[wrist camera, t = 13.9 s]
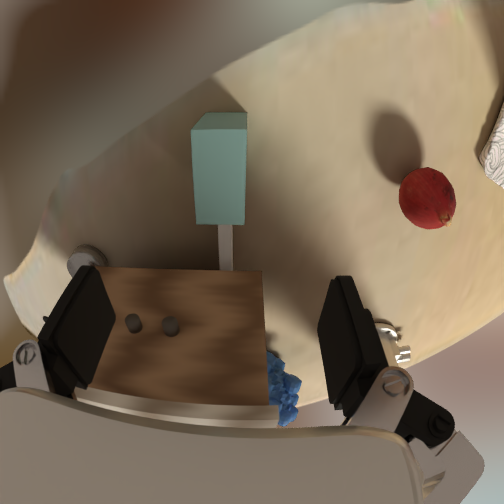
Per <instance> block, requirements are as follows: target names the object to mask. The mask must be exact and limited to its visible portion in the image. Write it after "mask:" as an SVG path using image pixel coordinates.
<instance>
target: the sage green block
mask: <svg viewBox="0 0 504 504" xmlns="http://www.w3.org/2000/svg"><path fill="white" fill-rule="evenodd" d="M191 148H192V168H193V184H194V199H195V212H196V224H212V225H218V243H219V265H220V270H222V271H233V225H244V222H245V184H246V149H247V112H209V113H205V114H204V115H203V116H202V118H201V119H200V120H199V121H198V122H197V123H196V124H195V126H194V127H193V128H192V129H191Z"/></svg>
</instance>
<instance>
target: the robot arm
mask: <svg viewBox="0 0 504 504" xmlns="http://www.w3.org/2000/svg"><path fill="white" fill-rule="evenodd" d="M115 320H116V314H115V311H114V309H113V307H112V304H111V302H110V299H109V297H108V294H107V291H106V289H105V286H104V283H103V281H102V278H101V275H100V272H99V271H98V270H96V268H95V267H94V266H89V265H82V266H80V268H79V269H78V271H77V272H76V274H75V275H74V277H73V278H72V280H71V281H70V283H69V284H68V286H67V287H66V289H65V290H64V292H63V294H62V295H61V297H60V299H59V300H58V302H57V303H56V305H55V307H54V308H53V310H52V312H51V314H50V315H49V317H48V319H47V321H46V322H45V324H44V326H43V328H42V330H41V331H40V333H39V335H38V337H37V338H38V339H39V341H38V343H37V342H35V341H34V340H26V341H23V342H22V343H20V344H19V345H18V346H17V348H16V349H15V351H14V354H13V361H12V362H10V363H9V364H7V365H5V366H3V367H1V368H0V504H460V503H461V501H462V500H463V499H464V498H465V497H466V495H467V494H468V493H469V491H470V490H471V489H472V487H473V486H474V485H475V484H476V482H477V481H478V479H479V478H480V477H481V475H482V473H483V471H484V460H483V458H482V456H481V455H480V454H479V453H478V452H477V450H476V449H475V448H474V447H473V446H472V444H471V443H470V442H469V441H468V440H467V439H466V438H465V436H464V435H463V434H462V433H461V432H460V431H458V432H456V431H455V429H454V428H455V422H454V419H453V416H452V415H451V413H450V412H448V411H447V410H446V409H444V408H443V407H441V406H439V405H438V404H436V403H435V402H433V401H431V400H430V399H428V398H426V397H425V396H423V395H421V394H420V393H418V392H416V391H415V390H414V389H413V388H414V384H413V380H412V377H411V376H410V375H409V373H408V372H407V371H406V370H404V369H403V368H400V367H399V366H398V363H402V362H408V361H409V360H410V346H402V347H399V346H397V344H396V343H397V339H398V337H397V333H396V331H395V329H394V328H393V327H392V326H390V325H388V324H384V323H374V320H373V317H372V315H371V312H370V311H369V310H368V309H364V308H363V305H362V302H361V299H360V297H359V294H358V291H357V289H356V286H355V283H354V281H353V278H352V277H351V276H336V278H335V279H332V280H331V282H330V285H329V289H328V292H327V296H326V299H325V303H324V306H323V309H322V313H321V316H320V319H319V322H318V328H317V331H318V337H319V343H320V349H321V354H322V360H323V366H324V372H325V378H326V384H327V390H328V397H329V402H330V404H334V408H335V410H342V409H343V415H344V416H345V419H344V420H343V422H342V423H341V425H340V426H320V427H304V428H235V427H218V426H206V425H196V424H187V423H179V422H171V421H165V420H158V419H153V418H147V417H142V416H137V415H132V414H127V413H122V412H118V411H114V410H109V409H105V408H102V407H98V406H94V405H91V404H87V403H84V402H80V401H78V400H77V397H76V395H75V392H74V389H75V387H77V388H81V389H84V390H87V387H88V384H91V383H92V381H93V378H94V375H95V372H96V369H97V367H98V364H99V361H100V359H101V356H102V353H103V351H104V348H105V345H106V343H107V340H108V338H109V335H110V333H111V331H112V328H113V326H114V323H115Z"/></svg>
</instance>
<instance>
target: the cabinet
mask: <svg viewBox="0 0 504 504" xmlns="http://www.w3.org/2000/svg"><path fill="white" fill-rule="evenodd" d="M94 267H95V268H96V270H98V271H99V272H100V275H101V278H102V281H103V283H104V286H105V289H106V291H107V294H108V297H109V299H110V302H111V304H112V307H113V309H114V311H115V314H116V320H115V323H114V326H113V328H112V331H111V333H110V335H109V338H108V340H107V343H106V345H105V348H104V351H103V353H102V356H101V359H100V361H99V364H98V367H97V369H96V372H95V375H94V378H93V381H92V383H91V384H88V387H87V390H84V389H81V388H77V387H75V389H74V392H75V395H76V397H77V400H78V401H80V402H84V403H87V404H91V405H94V406H98V407H102V408H105V409H109V410H114V411H118V412H122V413H127V414H132V415H137V416H142V417H147V418H153V419H158V420H165V421H171V422H179V423H187V424H196V425H206V426H218V427H235V428H276V426H277V424H278V422H279V408H278V405H269V391H268V372H267V354H266V337H265V319H264V303H263V286H262V271H222V270H182V269H150V268H123V267H100V266H94Z"/></svg>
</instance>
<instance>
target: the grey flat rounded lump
mask: <svg viewBox="0 0 504 504" xmlns="http://www.w3.org/2000/svg"><path fill="white" fill-rule="evenodd" d="M82 265H89V266H100V267H108V263H107V260H106V258H105V256H104V255H103V254H102V252H101V251H99V250H98V249H97V248H95V247H93V246H91V245H86V244H84V245H80V246H78V247H77V248H76V249H75V251H74V252H73V254H72V255H71V257H70V258H69V260H68V262H67V268H68V271H69V273H70V275H71V276H72V278H73V277H74V275H75V274H76V272H77V271H78V269H79V268H80V266H82Z"/></svg>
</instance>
